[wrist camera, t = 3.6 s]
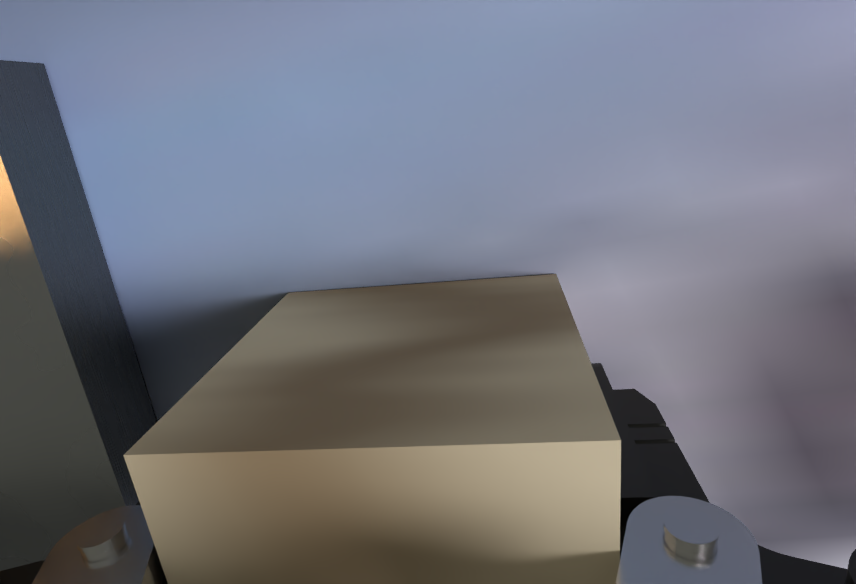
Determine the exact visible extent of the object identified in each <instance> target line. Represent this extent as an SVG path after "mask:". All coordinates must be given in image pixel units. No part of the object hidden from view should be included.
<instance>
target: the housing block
mask: <svg viewBox="0 0 856 584" xmlns="http://www.w3.org/2000/svg"><path fill="white" fill-rule="evenodd" d="M123 456H124V458H125V461H126V464H127V467H128V470H129V473H130V476H131V479H132V482H133V484H134V487H135V490H136V493H137V496H138V499H139V502H140V505H141V508H142V510H143V513H144V516H145V519H146V522H147V525H148V528H149V531H150V534H151V536H152V539H153V542H154V545H155V548H156V551H157V554H158V557H159V560H160V562H161V565H162V568H163V571H164V574H165V577H166V580H167V583H168V584H616V578H617V573H618V568H619V562H620V498H621V439H620V436H619V434H618V431H617V428H616V426H615V423H614V421H613V418H612V416H611V413H610V411H609V408H608V406H607V403H606V400H605V398H604V395H603V393H602V390H601V388H600V385H599V383H598V380H597V377H596V375H595V372H594V370H593V367H592V365H591V362H590V360H589V357H588V354H587V352H586V349H585V347H584V344H583V342H582V339H581V337H580V334H579V331H578V329H577V326H576V324H575V321H574V319H573V316H572V314H571V311H570V309H569V306H568V303H567V301H566V298H565V296H564V293H563V291H562V288H561V286H560V283H559V280H558V278H557V275H556V274H549V275H535V276H520V277H506V278H492V279H477V280H463V281H449V282H435V283H420V284H406V285H392V286H378V287H363V288H349V289H335V290H320V291H306V292H292V293H288V294H287V295H286V296H285V297H284V298H283V299H281V300H280V301H279V302H278V303H277V304H276V305H275V306H274V307H273V308H272V309H271V310H270V311H269V312H268V313H267V314H266V315H265V316H264V317H263V318H262V319H261V320H260V321H259V322H258V323H257V324H256V325H255V326H254V327H253V328H252V329H251V330H250V331H249V332H248V333H247V334H246V335H245V336H244V337H243V338H242V339H241V340H240V341H239V342H238V343H237V344H236V345H235V346H234V347H233V348H232V349H231V350H230V351H229V352H228V353H227V354H226V355H225V356H224V357H223V358H222V359H221V360H220V361H219V362H218V363H217V364H215V365H214V366H213V367H212V368H211V369H210V370H209V371H208V372H207V373H206V374H205V375H204V376H203V377H202V378H201V379H200V380H199V381H198V382H197V383H196V384H195V385H194V386H193V387H192V388H191V389H190V390H189V391H188V392H187V393H186V394H185V395H184V396H183V397H182V398H181V399H180V400H179V401H178V402H177V403H176V404H175V405H174V406H173V407H172V408H171V409H170V410H169V411H168V412H167V413H166V414H165V415H164V416H163V417H162V418H161V419H160V420H159V421H158V422H157V423H156V424H155V425H154V426H153V427H152V428H151V429H149V430H148V431H147V432H146V433H145V434H144V435H143V436H142V437H141V438H140V439H139V440H138V441H137V442H136V443H135V444H134V445H133V446H132V447H131V448H130V449H129V450H128V451H127V452H126V453H125V454H124V455H123Z"/></svg>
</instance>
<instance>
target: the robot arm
mask: <svg viewBox="0 0 856 584" xmlns="http://www.w3.org/2000/svg"><path fill="white" fill-rule="evenodd" d="M591 365H592V367H593V370H594V372H595V375H596V377H597V380H598V383H599V385H600V388H601V390H602V393H603V395H604V398H605V400H606V403H607V406H608V408H609V411H610V413H611V416H612V418H613V421H614V423H615V426H616V428H617V431H618V434H619V436H620V439H621V498H620V562H619V568H618V573H617V578H616V584H856V549H855V551H854V552H853V553H852V555H851V557H850V559H849V565H848V569H844V568H839V567H835V566H830V565H826V564H822V563H817V562H813V561H808V560H804V559H799V558H795V557H791V556H787V555H784V554H780V553H777V552H774V551H771V550H769V549H766V548H764V547H761V546H759V545H757V542H756V540H755V538H754V536H753V535H752V533H751V532H750V531H749V529H748V528H747V527H746V526H745V525H744V524H743V523H742V522H741V521H740V520H738V519H737V518H736V517H735V516H733V515H732V514H730V513H729V512H727V511H725V510H724V509H722V508H720V507H718V506H716V505H714V504H711V503H709V501H708V499H707V497H706V495H705V494H704V492H703V490H702V488H701V486H700V484H699V483H698V481H697V479H696V477H695V475H694V474H693V472H692V470H691V468H690V466H689V464H688V463H687V461H686V459H685V457H684V455H683V454H682V452H681V450H680V448H679V446H678V444H677V443H675V440H674V437H673V435H672V434H671V432H670V430H669V428H668V427H666V423H665V421H664V419H663V417H662V415H661V414H660V412H659V410H658V408H657V406H656V404H654V403H653V402H652V401H650V400H649V399H647V398H646V397H645V396H643V395H642V394H641V393H639V392H638V391H636V390H635V389H622V390H612V387H611V385H610V383H609V380H608V378H607V376H606V373H605V371H604V369H603V366H602V364H601V363H594V364H591ZM0 584H168V583H167V580H166V577H165V574H164V571H163V568H162V565H161V562H160V560H159V557H158V554H157V551H156V548H155V545H154V542H153V539H152V536H151V534H150V531H149V528H148V525H147V522H146V519H145V516H144V513H143V510H142V508H141V505H140V502H139V501H138V503H137V504H136V505H130V506H123V507H118V508H115V509H111V510H108V511H105V512H103V513H100V514H98V515H96V516H94V517H92V518H90V519H88V520H86V521H84V522H83V523H81V524H79V525H78V526H76V527H75V528H73V529H72V530H71V531H69V532H68V533H67V534H66V535H64V536H63V537H62V538H61V539H60V540H59V541H58V542H57V543H56V544H55V546H54V547H53V548H52V549H51V551H50V552H49V554H48V555H47V557H46V559H45V560H42V561H38V562H34V563H30V564H26V565H22V566H18V567H14V568H10V569H6V570H2V571H0Z"/></svg>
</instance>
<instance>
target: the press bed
mask: <svg viewBox="0 0 856 584" xmlns="http://www.w3.org/2000/svg"><path fill="white" fill-rule="evenodd" d="M156 423H157V421H156V418H155V415H154V412H153V409H152V405H151V402H150V399H149V396H148V393H147V390H146V386H145V383H144V380H143V377H142V374H141V371H140V367H139V364H138V361H137V358H136V355H135V351H134V348H133V345H132V342H131V339H130V336H129V332H128V329H127V326H126V323H125V320H124V317H123V313H122V310H121V307H120V304H119V301H118V298H117V294H116V291H115V288H114V285H113V282H112V279H111V275H110V272H109V269H108V266H107V263H106V259H105V256H104V253H103V250H102V247H101V244H100V240H99V237H98V234H97V231H96V228H95V225H94V221H93V218H92V215H91V212H90V209H89V206H88V202H87V199H86V196H85V193H84V190H83V186H82V183H81V180H80V177H79V174H78V171H77V167H76V164H75V161H74V158H73V155H72V152H71V148H70V145H69V142H68V139H67V136H66V133H65V129H64V126H63V123H62V120H61V117H60V113H59V110H58V107H57V104H56V101H55V98H54V94H53V91H52V88H51V85H50V82H49V79H48V75H47V72H46V69H45V66H44V64H42V63H29V62H16V61H4V60H0V571H2V570H6V569H10V568H14V567H18V566H22V565H26V564H30V563H34V562H38V561H42V560H45V559H46V557H47V555H48V554H49V552H50V551H51V549H52V548H53V547H54V546H55V544H56V543H57V542H58V541H59V540H60V539H61V538H62V537H63V536H64V535H66V534H67V533H68V532H69V531H71V530H72V529H73V528H75V527H76V526H78V525H79V524H81V523H83V522H84V521H86V520H88V519H90V518H92V517H94V516H96V515H98V514H100V513H103V512H105V511H108V510H111V509H115V508H118V507H123V506H130V505H136V504H137V503H138V501H139V499H138V496H137V493H136V490H135V487H134V484H133V482H132V479H131V476H130V473H129V470H128V467H127V464H126V461H125V458H124V456H123V455H124V454H125V453H126V452H127V451H128V450H129V449H130V448H131V447H132V446H133V445H134V444H135V443H136V442H137V441H138V440H139V439H140V438H141V437H142V436H143V435H144V434H145V433H146V432H147V431H148V430H149V429H151V428H152V427H153V426H154V425H155V424H156Z"/></svg>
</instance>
